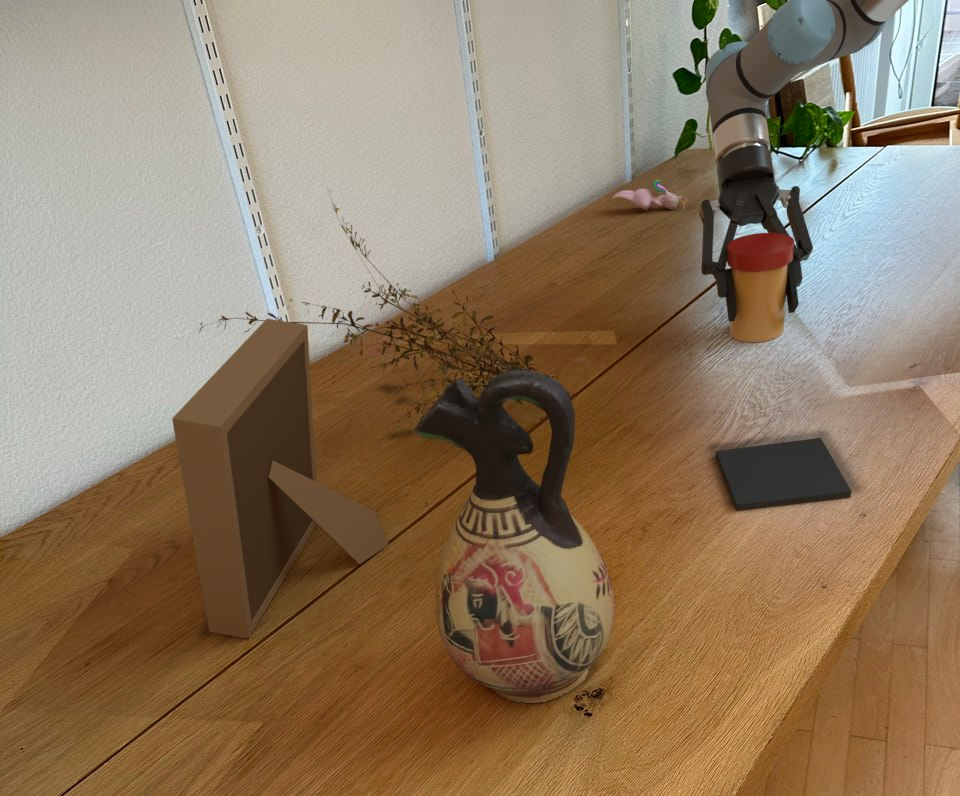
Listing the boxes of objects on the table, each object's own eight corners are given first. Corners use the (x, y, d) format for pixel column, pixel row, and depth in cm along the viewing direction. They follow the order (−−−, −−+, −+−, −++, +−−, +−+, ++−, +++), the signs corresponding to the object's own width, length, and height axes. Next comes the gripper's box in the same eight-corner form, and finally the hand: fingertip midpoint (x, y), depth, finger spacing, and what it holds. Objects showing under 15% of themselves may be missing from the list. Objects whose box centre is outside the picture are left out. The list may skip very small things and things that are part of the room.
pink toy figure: (686, 209, 184) (614, 201, 187) (691, 178, 180) (617, 170, 183) (681, 219, 179) (608, 211, 183) (686, 187, 175) (611, 179, 179)
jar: (776, 318, 134) (782, 234, 126) (789, 338, 128) (795, 251, 120) (725, 325, 135) (726, 242, 127) (735, 345, 129) (737, 259, 121)
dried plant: (628, 254, 113) (302, 120, 115) (557, 386, 93) (167, 221, 95) (558, 439, 136) (289, 325, 138) (490, 574, 117) (179, 439, 119)
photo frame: (212, 638, 94) (114, 421, 78) (286, 522, 110) (218, 322, 94) (344, 641, 91) (269, 413, 75) (401, 520, 106) (349, 311, 90)
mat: (820, 443, 105) (820, 437, 105) (850, 497, 96) (851, 491, 96) (716, 456, 107) (716, 450, 106) (736, 510, 97) (736, 504, 97)
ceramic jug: (425, 719, 80) (341, 411, 61) (486, 611, 91) (431, 319, 72) (610, 752, 74) (581, 420, 55) (654, 632, 84) (642, 319, 65)
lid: (784, 245, 128) (785, 229, 126) (800, 265, 121) (801, 248, 120) (721, 254, 129) (722, 238, 127) (734, 275, 122) (734, 258, 120)
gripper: (810, 163, 131) (831, 314, 129) (668, 185, 133) (686, 334, 131) (824, 130, 123) (846, 289, 121) (673, 154, 125) (692, 311, 123)
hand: (763, 312), depth 126 cm, fingers closed on jar, 8 cm apart
